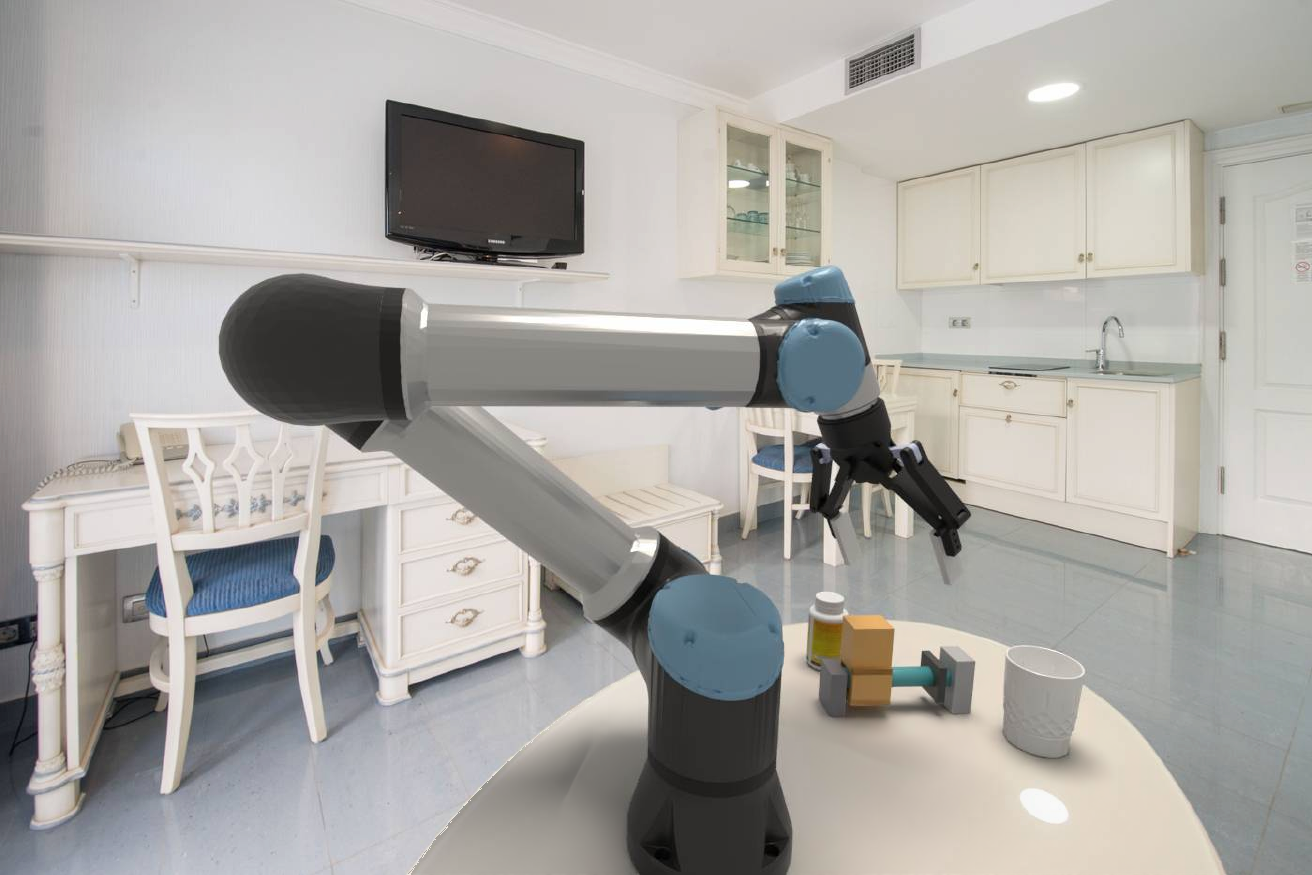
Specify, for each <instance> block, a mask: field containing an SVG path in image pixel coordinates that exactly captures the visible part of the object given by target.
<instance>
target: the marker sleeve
mask: <svg viewBox="0 0 1312 875" xmlns="http://www.w3.org/2000/svg"><path fill="white" fill-rule="evenodd" d="M895 632H896V631H895V628H894V626H892V624H891V623H889V621H887V620H886V618H884V616H882V614H865V615H864V614H863V615H862V614H859V615H858V614H857V615H856V614H853V615H852V614H851V615H850V614H849V615H843V623H842V637H841V651H839V663H840V665H841V666H842V668H848V670H849V671H850V686H849V688H847V691H846V701H847V702H848V704H849V705H850V706H851V707H856V706H857V707H861V706H862V707H865V706H866V707H867V706H890V705H891V697H892V688H893V687H892V676H893V668H892V667H893V653H894V642H895Z"/></svg>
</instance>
